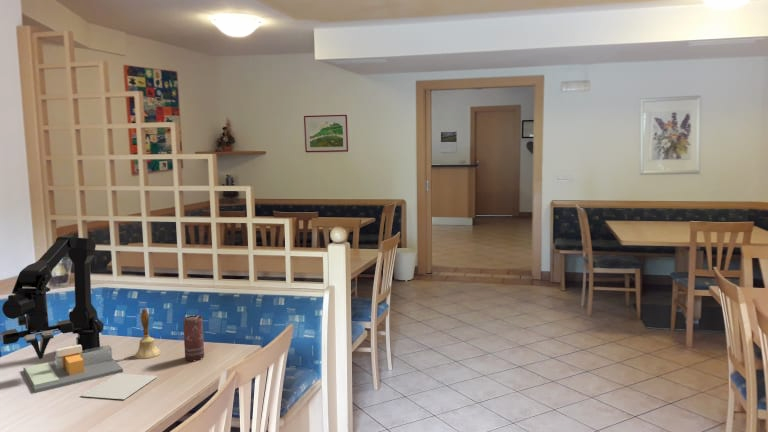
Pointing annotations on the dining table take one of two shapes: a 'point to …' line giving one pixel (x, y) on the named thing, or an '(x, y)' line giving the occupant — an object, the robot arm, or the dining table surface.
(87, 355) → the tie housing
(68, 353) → the cream bar
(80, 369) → the orange block
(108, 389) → the paper stack
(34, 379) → the pad
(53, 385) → the slate board
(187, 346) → the can
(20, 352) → the dining table surface
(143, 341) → the hand bell
